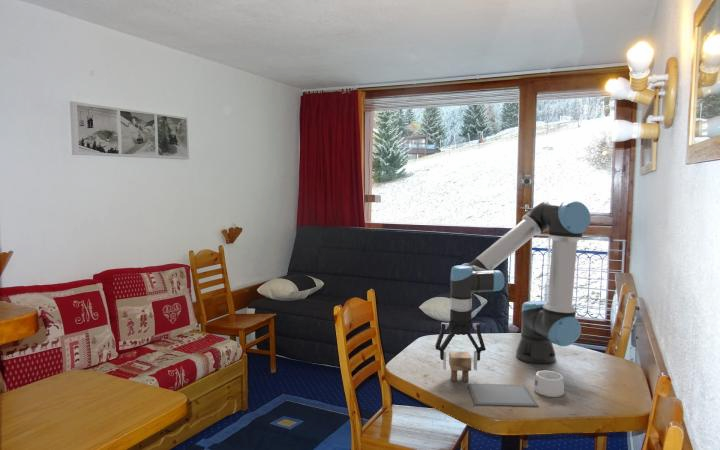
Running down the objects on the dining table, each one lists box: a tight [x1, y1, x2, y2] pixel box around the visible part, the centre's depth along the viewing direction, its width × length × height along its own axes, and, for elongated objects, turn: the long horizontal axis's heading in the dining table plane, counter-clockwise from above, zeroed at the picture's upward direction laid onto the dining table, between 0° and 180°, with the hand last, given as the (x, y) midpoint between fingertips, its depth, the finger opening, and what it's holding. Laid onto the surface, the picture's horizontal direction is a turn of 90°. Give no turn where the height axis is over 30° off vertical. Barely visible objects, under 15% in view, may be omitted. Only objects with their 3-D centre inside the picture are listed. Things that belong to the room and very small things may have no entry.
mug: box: [533, 370, 565, 398], centre depth 171 cm, size 12×10×6 cm
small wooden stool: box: [448, 350, 472, 383], centre depth 180 cm, size 7×7×9 cm
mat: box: [466, 383, 539, 408], centre depth 167 cm, size 20×16×1 cm
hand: (459, 368), depth 180 cm, fingers open, 10 cm apart
